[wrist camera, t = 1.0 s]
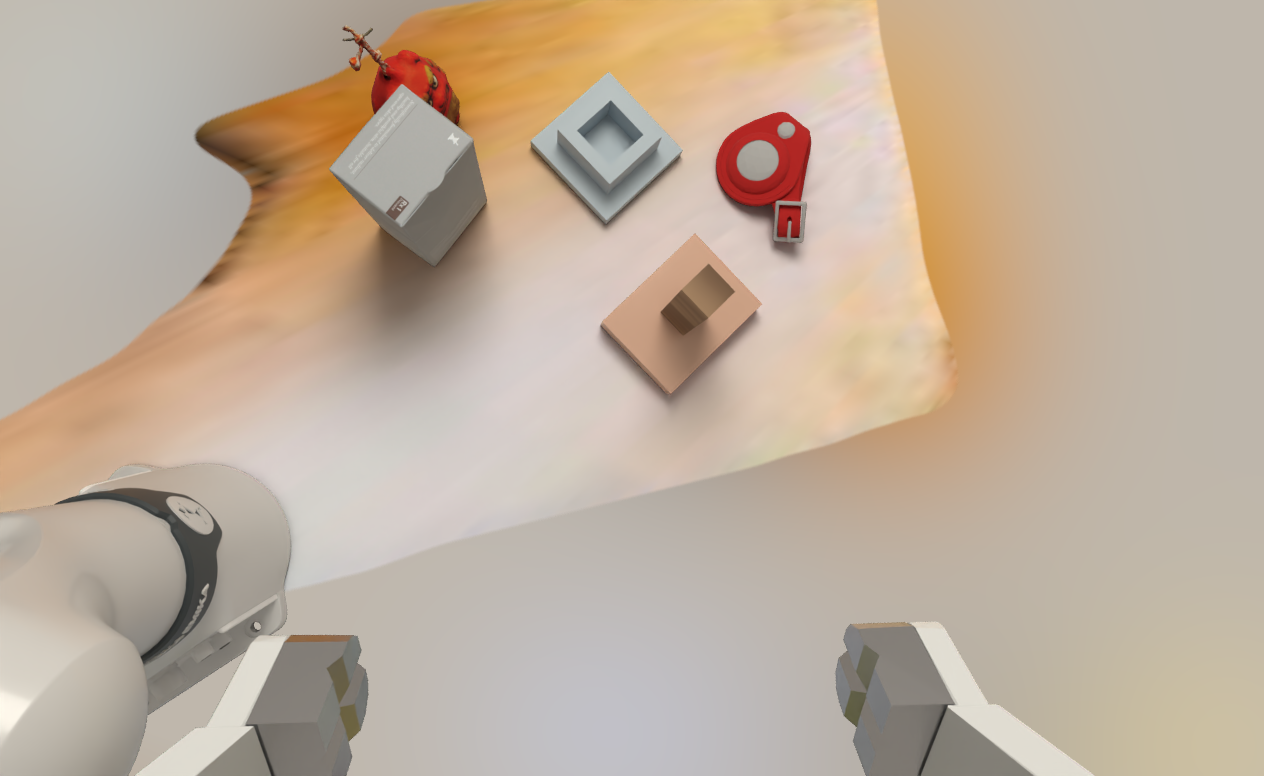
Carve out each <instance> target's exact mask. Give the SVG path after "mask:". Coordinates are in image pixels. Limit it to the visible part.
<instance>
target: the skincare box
mask: <svg viewBox="0 0 1264 776" xmlns="http://www.w3.org/2000/svg"><path fill="white" fill-rule="evenodd" d="M329 170H330V171H331V172H332V173H333V175H334V176H335V177H336V178H337V179H338V180H339V181H340V182H341V184H342V185H343V186H344V187H345V188H346V189H347V190H348V192H349V193H350V194H351V195H352V196H353V197H354V198H355V199H356V200H357V201H358V202H359V204H360V205H361V206H362V207H363V208H364V209H365V210H366V211H367V212H368V213H369V215H370V216H371V217H372V218H373V219H374V220H375V221H376V222H377V223H378V224H379V226H380V227H381V228H382V229H384V230H385V231H386V232H387V233H389V234H390V235H391V236H393V237H394V238H395V239H397V240H398V241H399V242H401V243H402V244H403V245H405V246H406V247H407V248H409V249H410V250H411V251H413V252H414V253H415V254H417V255H418V256H419V257H421V258H422V259H424V260H425V261H426V262H428V263H429V264H430V265H432V266H433V267H435V266H436V265H437V264H438V262H439V261H440V260H441V259H442V258H443V256H444V255H445V254H446V253H447V251H448V250H449V249H450V247H451V246H452V245H453V244H454V242H455V241H456V240H457V239H458V237H459V236H460V235H461V234H462V232H463V231H464V230H465V229H466V227H467V226H468V225H469V224H470V222H471V221H472V220H473V218H474V217H475V216H476V215H477V213H478V212H479V211H480V210H481V208H482V207H483V206H484V204H485V203H486V202H487V198H486V194H485V190H484V185H483V181H482V177H481V173H480V169H479V165H478V161H477V157H476V152H475V148H474V142H473V138H472V137H470V136H469V135H468V134H467V133H465V132H464V131H463V130H462V129H460V128H459V127H458V126H456V125H455V124H454V123H452V122H451V121H450V120H449V119H447V118H446V117H445V116H443V115H442V114H441V113H439V112H438V111H437V110H436V109H434V108H433V107H432V106H430V105H429V104H428V103H426V102H425V101H424V100H422V99H421V98H420V97H418V96H417V95H416V94H414V93H413V92H412V91H411V90H409V89H408V88H407V87H405V86H404V85H403V84H401V85H400V86H399V87H398V89H397V90H396V91H395V92H394V93H393V94H392V95H391V97H390V98H389V99H388V100H387V101H386V102H385V103H384V105H383V106H382V107H381V108H380V109H379V110H378V111H377V113H376V114H375V115H374V116H373V117H372V118H371V119H370V121H369V122H368V123H367V124H366V125H365V126H364V127H363V129H362V130H361V131H360V132H359V133H358V135H357V136H356V137H355V138H354V139H353V141H352V142H351V143H350V144H349V145H348V147H347V148H346V149H345V150H344V151H343V153H342V154H341V155H340V156H339V157H338V159H337V160H336V161H335V162H334V163H333V165H332V166H331V167H330V168H329Z"/></svg>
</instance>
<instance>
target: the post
mask: <svg viewBox="0 0 1264 776" xmlns="http://www.w3.org/2000/svg"><path fill="white" fill-rule="evenodd" d="M734 292H735V291H734V290H733V289H732V288H731V286H730V285H729V284H728V283H727V282H726V281H725V280H724V279H723V278H722V277H721V276H720V275H719V274H718V273H717V272H716V271H715V270H714V269H713V268H712V266H711V265H710V264H708V265H707V266H706V267H705V268H703V269H702V270H701V271H700V272H699V273H698V274H697V275H696V276H695V277H694V278H693V279H692V280H691V281H690V282H689V283H688V284H687V285H686V286H685V287H684V288H683V289H682V290H681V291H680V292H679V293H678V294H677V295H676V296H675V297H674V298H673V299H672V300H671V301H670V302H669V303H668V304H667V306H666V307H665V308H664V309H663V310H662V311H661V313H662V314H663V315H664V316H665V317H666V318H667V319H668V320H669V322H670V323H671V324H672V325H673V326H674V327H675V328H676V329H677V330H678V331H679V332H680V333H681V334H682V335H683V336H684V335H685V334H686V333H688V332H689V331H691V330H692V329H693V328H695V327H696V326H698V325H699V324H701V323H702V322H703V321H705V320H706V319H708V318H709V317H710V316H711V315H712V314H713V313H714V312H715V311H716V310H717V309H718V308H719V307H720V306H721V305H722V304H723V303H724V302H725V301H726V300H727V299H728V298H729V297H730V296H731V295H732V294H733V293H734Z"/></svg>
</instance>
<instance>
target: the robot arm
mask: <svg viewBox="0 0 1264 776" xmlns="http://www.w3.org/2000/svg"><path fill="white" fill-rule="evenodd" d="M79 494H80V495H77V496H75V497H71V498H68V499H65V500H63V501H60V502H58V503H56V504H54V505H50V506H43V507H36V508H30V509H23V510H17V511H10V512H2V513H0V776H128V774H129V773H130V771H131V768H132V766H133V764H134V762H135V760H136V757H137V754H138V752H139V748H140V746H141V742H142V739H143V736H144V732H145V728H146V722H147V715H149V714H150V713H152V712H154V711H155V710H156V709H158V708H160V707H161V706H163V705H164V704H166V703H167V702H169V701H170V700H172V699H173V698H175V697H176V696H178V695H179V694H181V693H183V692H184V691H186V690H187V689H189V688H190V687H192V686H193V685H195V684H196V683H198V682H199V681H201V680H202V679H204V678H205V677H207V676H208V675H210V674H212V673H213V672H215V671H216V670H218V669H219V668H221V667H222V666H224V665H225V664H227V663H228V662H230V661H232V660H233V659H235V658H236V657H238V656H239V655H241V654H242V653H244V652H245V651H246V653H245V655H244V657H243V659H242V660H241V662H240V664H239V666H238V668H237V670H236V672H235V673H234V676H233V677H232V679H231V681H230V683H229V685H228V687H227V688H226V690H225V692H224V694H223V696H222V698H221V700H220V702H219V703H218V706H217V707H216V709H215V711H214V713H213V715H212V717H211V719H210V720H209V722H208V724H207V726H206V727H199V728H195V729H194V730H192V731H191V732H190V733H188V734H187V735H186V736H185V737H183V738H182V739H181V740H179V741H178V742H177V743H176V744H174V745H173V746H172V747H170V748H169V749H168V750H167V751H165V752H164V753H163V754H162V755H160V756H159V757H158V758H157V759H155V760H154V761H153V762H151V763H150V764H149V765H147V766H146V767H145V768H144V769H142V770H141V771H140V772H138V773H137V774H136V775H135V776H346V775H347V771H348V768H349V765H350V762H351V759H352V754H351V750H350V746H349V741H350V740H351V739H352V738H353V737H354V736H355V735H356V734H357V733H358V732H359V731H360V730H361V727H362V723H363V720H364V717H365V713H366V706H367V699H368V679H367V674H366V670H365V669H364V668H363V667H362V666H361V665H359V664H358V663H357V662H358V659H359V656H360V653H361V647H360V644H359V640H358V637H357V636H354V635H276V636H275V635H271V634H273V633H274V632H276V631H277V630H279V629H280V628H281V627H282V626H283V625H284V624H285V622H286V619H287V606H286V599H285V594H284V580H285V576H286V572H287V568H288V564H289V559H290V547H291V543H290V532H289V527H288V523H287V520H286V517H285V515H284V512H283V510H282V508H281V506H280V505H279V503H278V502H277V500H276V499H275V497H274V496H273V495H272V493H271V492H270V491H269V490H268V489H267V488H266V487H265V486H264V485H263V484H261V483H260V482H259V481H257V480H256V479H255V478H253V477H251V476H250V475H248V474H246V473H244V472H242V471H239V470H237V469H234V468H231V467H227V466H223V465H217V464H193V465H186V466H181V467H176V468H168V469H161V468H157V467H152V466H147V465H140V464H131V465H127V466H123V467H120V468H118V469H117V470H116V471H115V472H114V473H113V474H112V475H111V477H110V478H109V479H108V480H107V481H104V482H100V483H96V484H92V485H89V486H86V487H84V488H83V489H82V490H80V492H79ZM254 622H259V623H260V624H261V629H260V630H257V629H255V628H254ZM843 640H844V643H845V645H846V648H847V650H848V651H846V652H845V653H844V654H843V655H842V656H841V657H839V659H838V664H837V668H836V690H837V695H838V699H839V703H840V706H841V709H842V712H843V715H844V716H845V717H846V718H847V719H848V720H849V721H850V722H851V723H852V724H854V725H855V726H856V727H857V728H856V732H855V736H854V739H853V742H854V745H855V748H856V750H857V753H858V756H859V758H860V761H861V764H862V767H863V769H864V772H865V775H866V776H1095V775H1093V774H1092V773H1090V772H1089V771H1088V770H1086V769H1085V768H1084V767H1082V766H1081V765H1080V764H1078V763H1077V762H1076V761H1074V760H1073V759H1071V758H1070V757H1069V756H1067V755H1066V754H1065V753H1063V752H1062V751H1061V750H1059V749H1058V748H1056V747H1055V746H1054V745H1052V744H1051V743H1050V742H1048V741H1047V740H1046V739H1044V738H1043V737H1042V736H1040V735H1039V734H1037V733H1036V732H1035V731H1033V730H1032V729H1030V728H1029V727H1028V726H1027V725H1025V724H1024V723H1023V722H1021V721H1020V720H1018V719H1017V718H1016V717H1014V716H1013V715H1012V714H1010V713H1009V712H1008V711H1006V710H1005V709H1003V708H1002V707H1001V706H999V705H998V704H989V703H988V702H987V700H986V698H985V697H984V695H983V693H982V691H981V690H980V688H979V686H978V685H977V683H976V681H975V680H974V678H973V676H972V675H971V673H970V671H969V669H968V668H967V666H966V664H965V663H964V661H963V659H962V657H961V656H960V654H959V652H958V651H957V649H956V647H955V645H954V644H953V642H952V640H951V639H950V637H949V635H948V634H947V632H946V630H945V628H944V627H943V626H942V625H941V624H940V623H938V622H909V623H905V622H897V623H867V624H850V625H849V626H848V628H847V629H846V632H845V635H844V639H843Z"/></svg>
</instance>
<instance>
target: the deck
mask: <svg viewBox="0 0 1264 776" xmlns="http://www.w3.org/2000/svg"><path fill="white" fill-rule="evenodd" d="M708 264H710V265H711V266H712V268H713V269H714V270H715V271H716V272H717V273H718V274H719V275H720V276H721V277H722V278H723V279H724V280H725V281H726V282H727V283H728V284H729V285H730V286H731V288H732V289H733V290H734V291H735V292H734V293H733V294H732V295H731V296H730V297H729V298H728V299H727V300H726V301H725V302H724V303H723V304H722V305H721V306H720V307H719V308H718V309H717V310H716V311H715V312H714V313H713V314H712V315H711V316H710V317H709V318H708V319H706V320H705V321H703V322H702V323H701V324H699V325H698V326H696V327H695V328H693V329H692V330H691V331H689V332H688V333H686V334H685V335H684V336H683V335H682V334H681V333H680V332H679V331H678V330H677V329H676V328H675V327H674V326H673V325H672V324H671V323H670V322H669V320H668V319H667V318H666V317H665V316H664V315H663V314H662V313H661V311H662V310H663V309H664V308H665V307H666V306H667V304H668V303H669V302H670V301H671V300H672V299H673V298H674V297H675V296H676V295H677V294H678V293H679V292H680V291H681V290H682V289H683V288H684V287H685V286H686V285H687V284H688V283H689V282H690V281H691V280H692V279H693V278H694V277H695V276H696V275H697V274H698V273H699V272H700V271H701V270H702V269H703V268H705V267H706V266H707V265H708ZM761 305H762V303H761V302H760V301H759V300H758V299H757V298H756V297H755V296H754V295H753V294H752V293H751V292H750V291H749V290H748V289H747V288H746V286H745V285H744V284H743V283H742V282H741V281H740V280H739V279H738V278H737V277H736V276H735V275H734V274H733V273H732V272H731V271H730V270H729V269H728V267H727V266H726V265H725V264H724V263H723V262H722V261H721V260H720V259H719V258H718V257H717V256H716V255H715V254H714V253H713V252H712V251H711V250H710V249H709V247H708V246H707V245H706V244H705V243H704V242H703V241H702V240H701V239H700V238H699V237H698V236H697V235H696V234H694V235H693V236H692V237H691V238H690V239H689V240H688V241H687V242H686V243H684V244H683V245H682V246H681V247H680V248H679V249H678V250H677V251H676V252H675V253H674V254H673V255H672V256H671V257H670V258H669V259H668V260H667V261H666V262H664V263H663V264H662V265H661V266H660V267H659V268H658V269H657V270H656V271H655V272H654V273H653V274H652V275H651V276H650V277H649V278H648V279H647V280H646V281H644V282H643V283H642V284H641V285H640V286H639V287H638V288H637V289H636V290H635V291H634V292H633V293H632V294H631V295H630V296H629V297H628V298H627V299H626V300H624V301H623V302H622V303H621V304H620V305H619V306H618V307H617V308H616V309H615V310H614V311H613V312H612V313H611V314H610V315H609V316H608V317H607V318H606V319H604V320H603V321H602V323H601V326H602V327H603V328H604V329H605V331H606V332H607V333H608V334H609V335H610V336H611V337H612V338H613V339H614V340H615V341H616V342H617V343H618V344H619V345H620V346H621V347H622V348H623V349H624V350H625V351H626V352H627V353H628V354H629V355H630V356H631V358H632V359H633V360H634V361H635V362H636V363H637V364H638V365H639V366H640V367H641V368H642V369H643V370H644V371H645V372H646V373H647V374H648V375H649V376H650V377H651V378H652V379H653V380H654V381H655V382H656V383H657V385H658V386H659V387H660V388H661V389H662V390H663V391H664V392H665V393H666V394H667V395H669V394H671V393H672V392H673V391H674V390H675V389H676V388H678V387H679V386H680V385H681V384H682V383H683V382H684V381H685V380H686V379H687V378H688V377H689V376H690V375H691V374H692V373H693V372H694V371H695V370H696V369H697V368H698V367H699V366H700V365H701V364H702V363H703V362H704V361H705V360H706V359H707V358H708V357H709V356H710V355H711V354H712V353H713V352H714V351H715V350H716V349H717V348H718V347H719V346H720V345H721V344H722V343H723V342H724V341H725V340H726V339H727V338H728V337H729V336H730V335H731V334H732V333H733V332H734V331H735V330H736V329H737V328H738V327H739V326H740V325H741V324H742V323H743V322H744V321H745V320H746V319H747V318H748V317H749V316H750V315H751V314H752V313H754V312H755V311H756V310H757V309H758V308H759V307H760V306H761Z"/></svg>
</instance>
